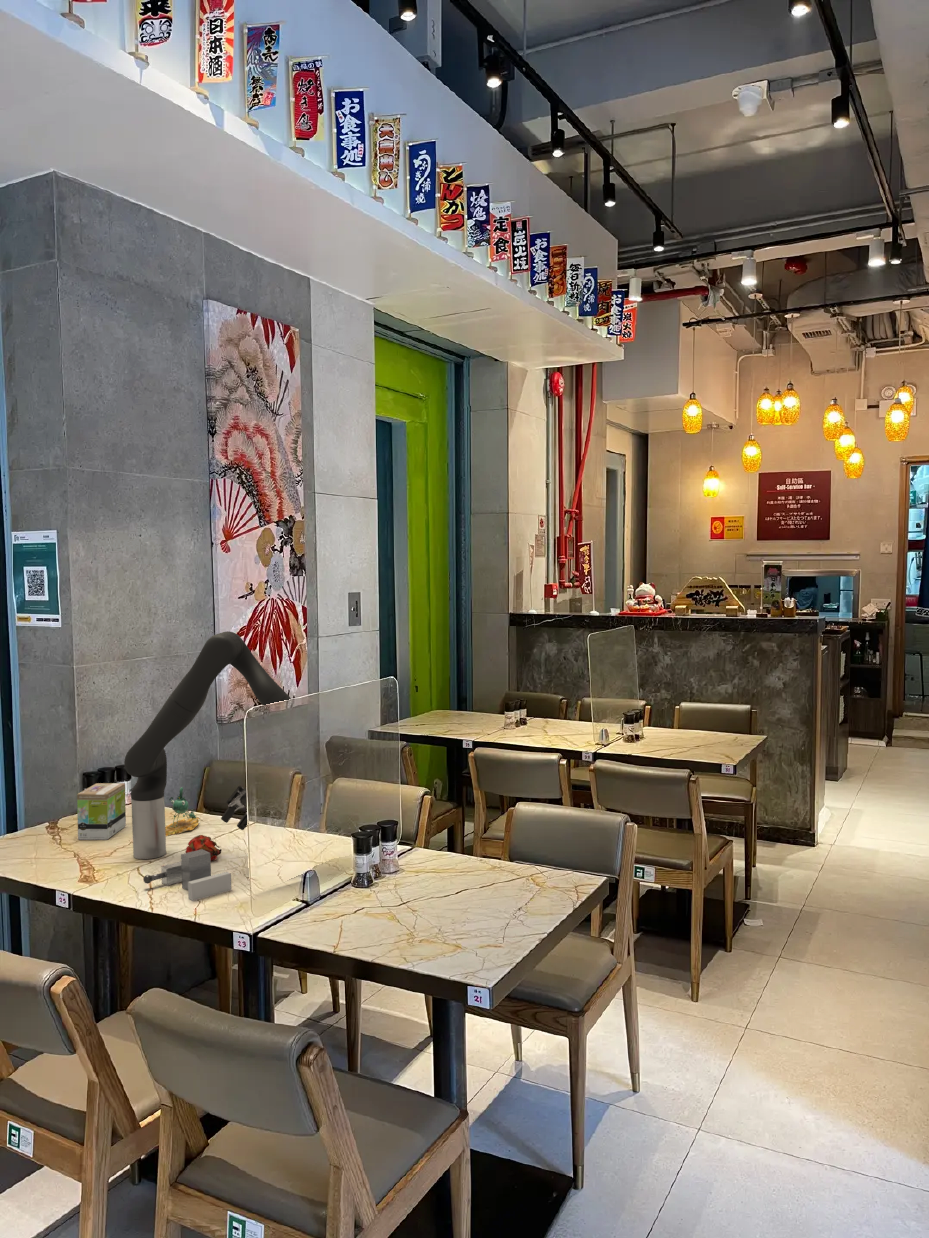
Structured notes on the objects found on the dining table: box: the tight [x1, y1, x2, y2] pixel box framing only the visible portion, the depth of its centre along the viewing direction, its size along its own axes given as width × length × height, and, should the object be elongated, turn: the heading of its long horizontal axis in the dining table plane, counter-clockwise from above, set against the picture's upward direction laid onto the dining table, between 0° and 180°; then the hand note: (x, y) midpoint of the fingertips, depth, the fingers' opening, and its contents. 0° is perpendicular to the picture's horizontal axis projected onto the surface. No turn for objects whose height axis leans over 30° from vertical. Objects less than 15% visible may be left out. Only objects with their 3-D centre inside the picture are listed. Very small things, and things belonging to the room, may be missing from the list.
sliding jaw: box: [143, 861, 182, 886], centre depth 250 cm, size 3×16×4 cm, turn 133°
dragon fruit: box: [184, 834, 223, 862], centre depth 270 cm, size 8×8×12 cm
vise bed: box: [187, 871, 232, 902], centre depth 248 cm, size 22×11×6 cm, turn 43°
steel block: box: [180, 849, 212, 892], centre depth 246 cm, size 4×6×9 cm
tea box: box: [76, 782, 127, 841], centre depth 300 cm, size 15×10×15 cm
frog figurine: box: [165, 787, 200, 837], centre depth 303 cm, size 10×18×15 cm, turn 153°
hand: (231, 824), depth 253 cm, fingers open, 8 cm apart
